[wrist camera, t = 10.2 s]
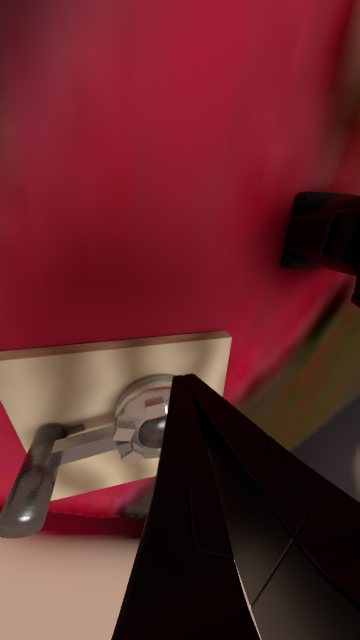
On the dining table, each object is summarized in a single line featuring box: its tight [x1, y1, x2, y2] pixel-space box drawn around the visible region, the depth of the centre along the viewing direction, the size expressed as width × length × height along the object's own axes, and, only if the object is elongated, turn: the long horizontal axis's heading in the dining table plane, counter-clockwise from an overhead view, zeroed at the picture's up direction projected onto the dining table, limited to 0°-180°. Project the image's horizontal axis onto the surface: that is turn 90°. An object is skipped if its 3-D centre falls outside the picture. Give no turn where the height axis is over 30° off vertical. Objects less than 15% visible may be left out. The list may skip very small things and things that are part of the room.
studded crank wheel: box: [0, 375, 173, 538], centre depth 19 cm, size 17×9×7 cm, turn 97°
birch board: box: [0, 330, 232, 501], centre depth 24 cm, size 22×22×2 cm
